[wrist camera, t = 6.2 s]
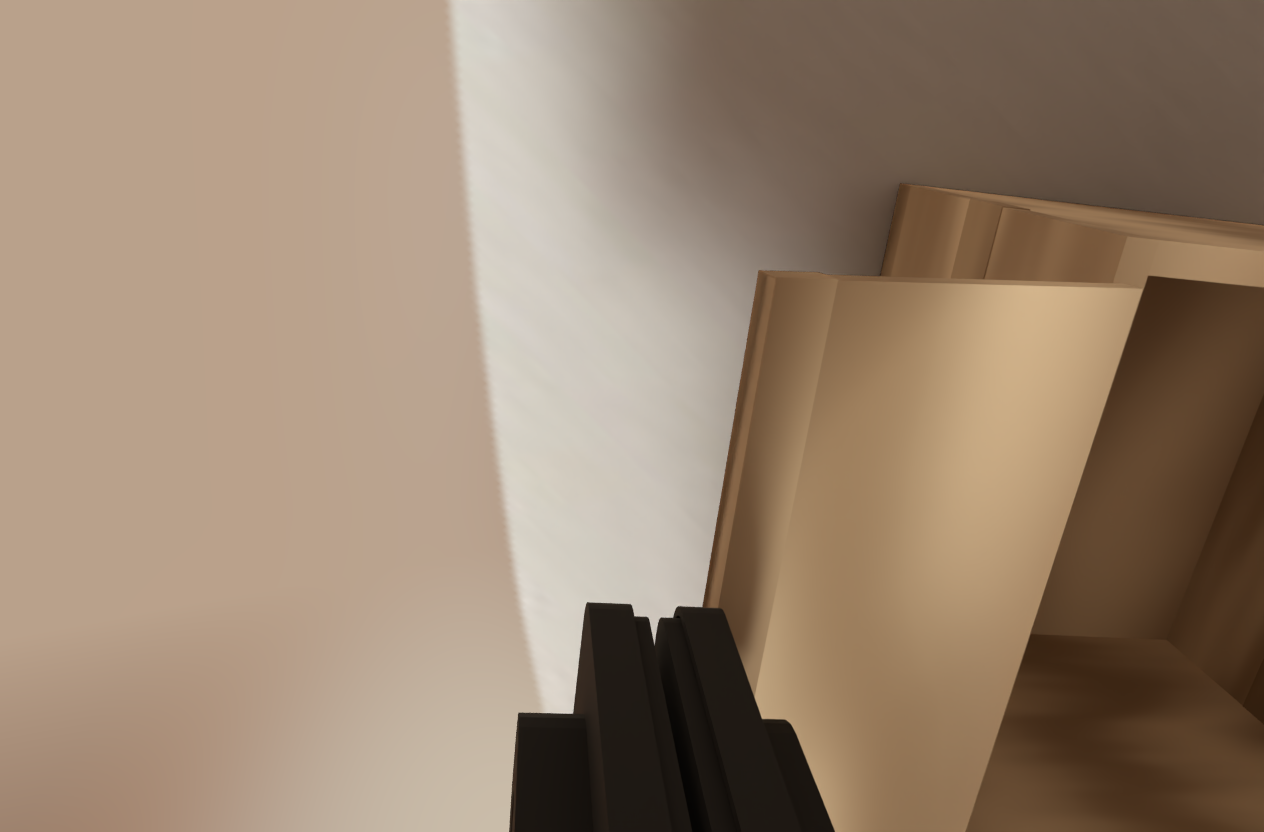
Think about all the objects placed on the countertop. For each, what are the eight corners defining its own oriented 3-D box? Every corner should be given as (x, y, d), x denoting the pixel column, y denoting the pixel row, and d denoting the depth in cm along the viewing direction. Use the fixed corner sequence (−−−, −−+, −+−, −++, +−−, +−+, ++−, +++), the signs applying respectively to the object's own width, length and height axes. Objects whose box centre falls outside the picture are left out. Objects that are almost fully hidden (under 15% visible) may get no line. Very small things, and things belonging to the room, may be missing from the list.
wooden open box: (1324, 231, 21) (1767, 306, 13) (1162, 643, 25) (1429, 878, 17) (899, 182, 19) (1126, 234, 12) (802, 628, 23) (924, 877, 16)
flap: (776, 277, 9) (758, 270, 9) (649, 1007, 12) (639, 985, 13) (1144, 287, 11) (1121, 282, 12) (948, 886, 15) (934, 871, 15)
